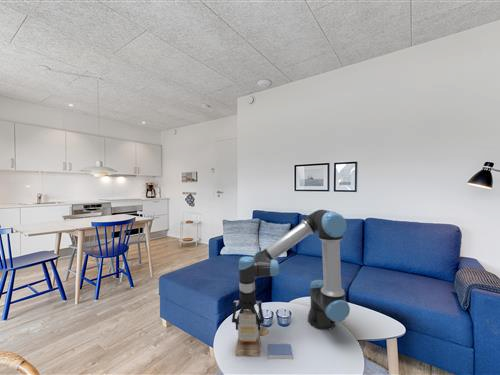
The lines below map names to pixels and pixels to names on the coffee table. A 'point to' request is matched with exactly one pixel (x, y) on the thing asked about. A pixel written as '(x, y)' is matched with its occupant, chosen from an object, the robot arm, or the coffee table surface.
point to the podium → (248, 348)
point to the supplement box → (247, 326)
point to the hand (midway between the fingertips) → (248, 336)
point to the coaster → (263, 331)
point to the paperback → (280, 351)
